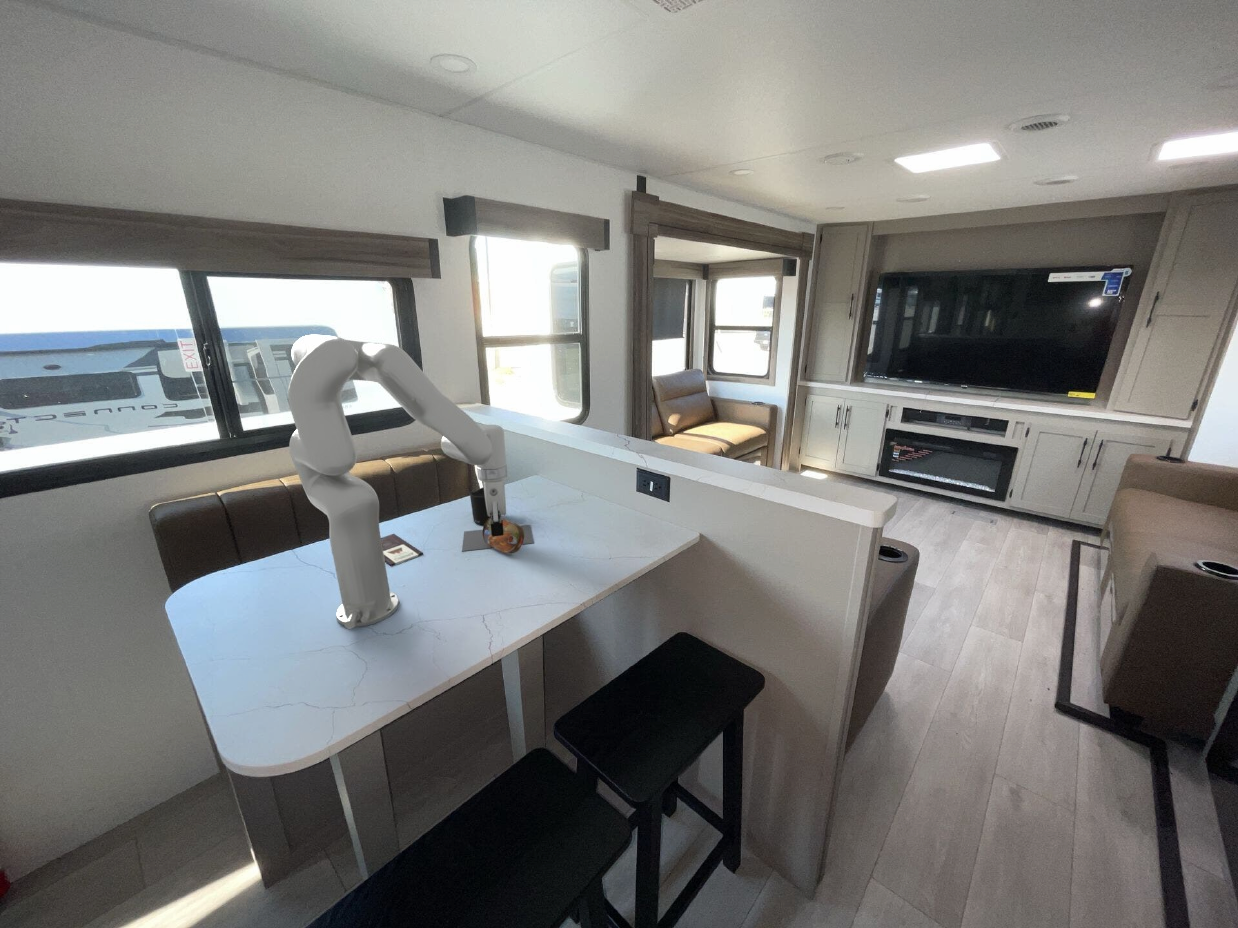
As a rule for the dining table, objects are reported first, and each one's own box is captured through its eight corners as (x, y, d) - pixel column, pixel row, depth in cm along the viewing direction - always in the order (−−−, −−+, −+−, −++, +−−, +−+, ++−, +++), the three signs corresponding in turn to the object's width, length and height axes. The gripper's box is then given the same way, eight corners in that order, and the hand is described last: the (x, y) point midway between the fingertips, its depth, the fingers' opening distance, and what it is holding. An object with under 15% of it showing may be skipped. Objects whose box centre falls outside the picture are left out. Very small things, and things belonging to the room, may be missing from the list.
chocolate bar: (394, 533, 145) (423, 552, 134) (394, 536, 145) (423, 555, 134) (362, 543, 139) (390, 564, 127) (363, 546, 139) (390, 567, 128)
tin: (478, 539, 139) (487, 511, 139) (486, 540, 142) (495, 513, 142) (511, 557, 130) (521, 527, 130) (520, 557, 133) (529, 528, 133)
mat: (533, 543, 140) (533, 542, 140) (462, 551, 135) (461, 550, 135) (530, 525, 152) (530, 524, 152) (464, 532, 147) (464, 531, 147)
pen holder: (472, 516, 158) (469, 488, 155) (501, 513, 161) (499, 485, 158) (473, 528, 150) (470, 498, 147) (503, 524, 153) (501, 495, 150)
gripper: (507, 479, 121) (512, 545, 127) (506, 462, 135) (510, 522, 141) (476, 482, 119) (483, 548, 125) (478, 464, 133) (484, 525, 139)
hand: (497, 534), depth 133 cm, fingers closed
